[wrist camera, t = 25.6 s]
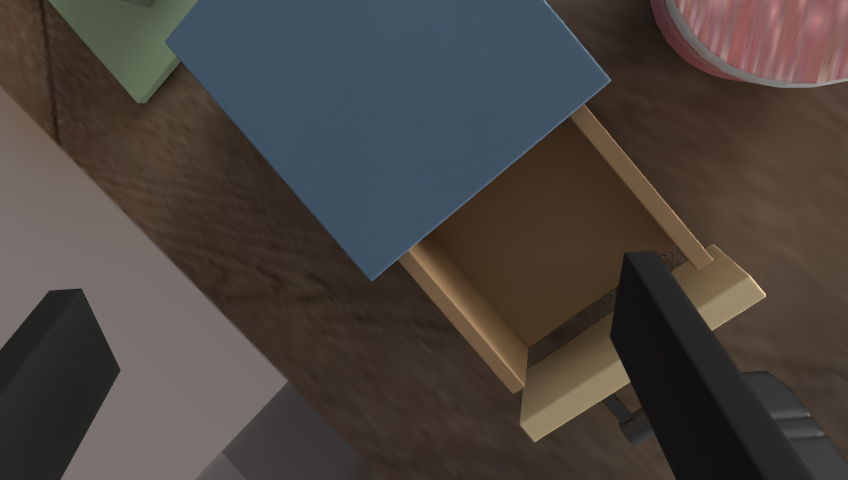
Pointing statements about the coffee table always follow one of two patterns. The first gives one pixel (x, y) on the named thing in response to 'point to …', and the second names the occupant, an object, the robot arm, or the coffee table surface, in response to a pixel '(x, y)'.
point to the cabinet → (387, 101)
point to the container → (760, 39)
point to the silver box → (141, 2)
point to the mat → (129, 38)
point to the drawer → (563, 270)
